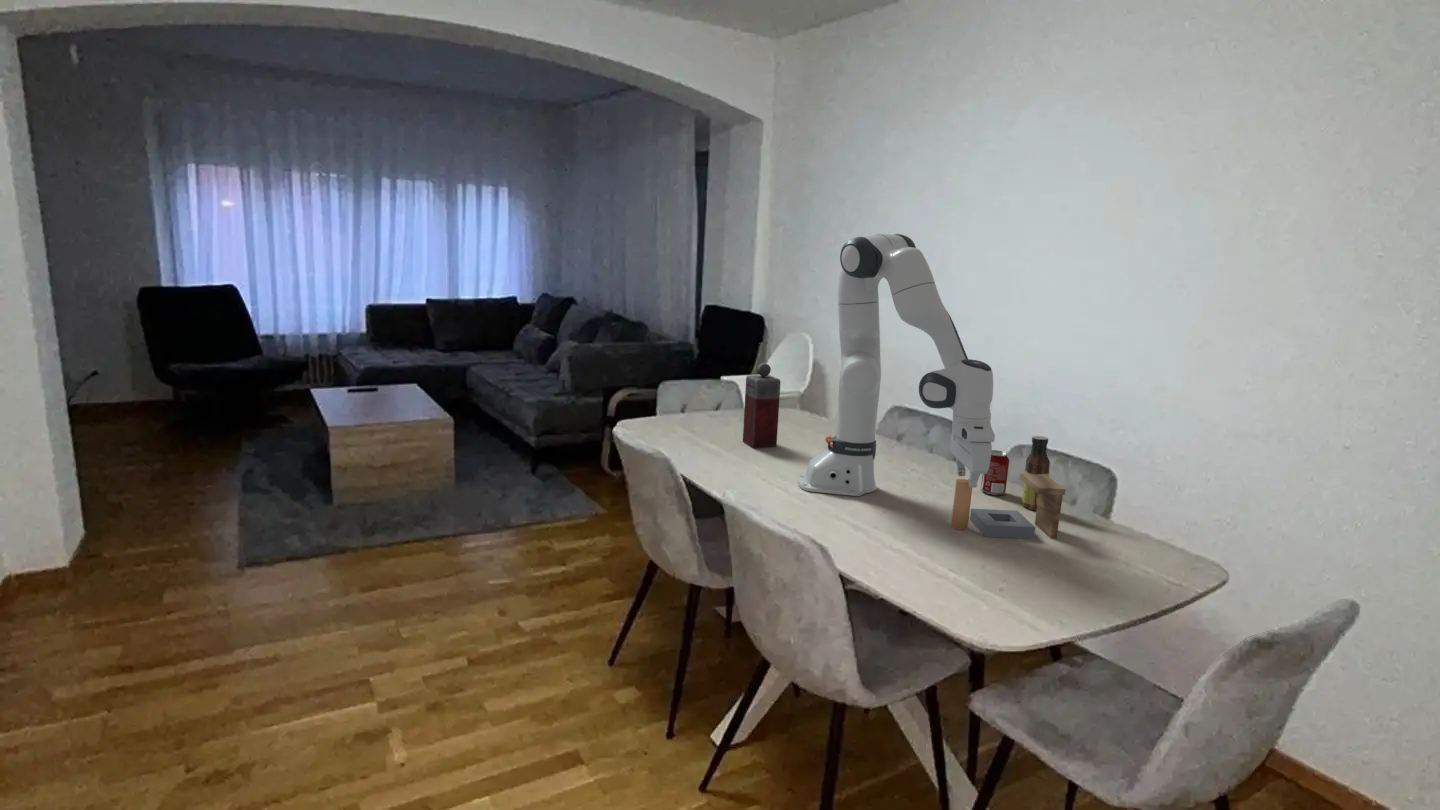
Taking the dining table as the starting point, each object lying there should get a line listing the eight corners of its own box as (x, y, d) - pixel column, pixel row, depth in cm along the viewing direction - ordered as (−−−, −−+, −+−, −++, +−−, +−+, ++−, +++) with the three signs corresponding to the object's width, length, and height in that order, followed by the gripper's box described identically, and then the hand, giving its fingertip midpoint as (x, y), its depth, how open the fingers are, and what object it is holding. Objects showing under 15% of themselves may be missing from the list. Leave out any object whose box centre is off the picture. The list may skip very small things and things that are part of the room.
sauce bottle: (1044, 506, 218) (1054, 436, 214) (1046, 513, 212) (1056, 441, 208) (1019, 502, 220) (1028, 433, 216) (1020, 509, 214) (1029, 438, 210)
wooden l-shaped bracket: (1031, 538, 193) (1038, 488, 190) (1014, 521, 204) (1020, 473, 202) (1058, 540, 193) (1065, 489, 190) (1039, 522, 205) (1045, 474, 202)
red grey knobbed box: (763, 438, 277) (767, 360, 272) (776, 447, 267) (782, 365, 261) (739, 440, 274) (743, 360, 268) (752, 448, 264) (757, 365, 258)
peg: (953, 529, 197) (958, 483, 194) (949, 523, 200) (954, 478, 198) (969, 530, 197) (975, 484, 194) (964, 524, 201) (970, 479, 198)
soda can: (1006, 497, 224) (1011, 456, 222) (981, 495, 225) (986, 454, 223) (1003, 490, 231) (1008, 450, 228) (979, 488, 232) (983, 448, 229)
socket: (984, 536, 193) (986, 525, 192) (969, 519, 204) (971, 508, 204) (1033, 538, 193) (1035, 527, 192) (1015, 521, 205) (1017, 510, 204)
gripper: (946, 417, 203) (942, 469, 206) (970, 436, 183) (965, 493, 186) (970, 417, 203) (966, 469, 206) (997, 436, 183) (992, 493, 186)
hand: (966, 481), depth 196 cm, fingers open, 8 cm apart
